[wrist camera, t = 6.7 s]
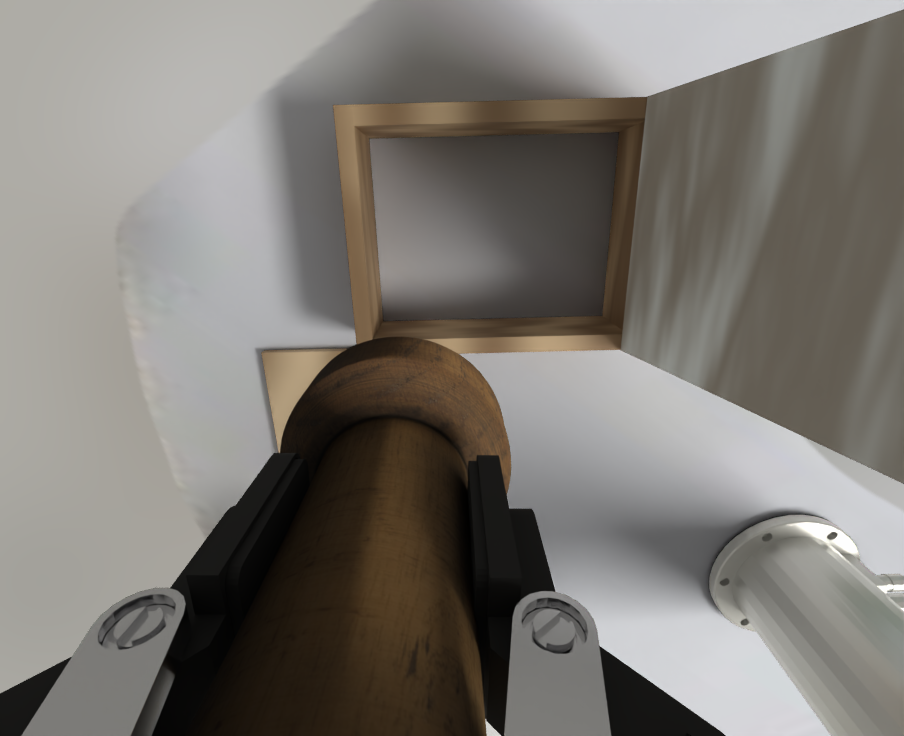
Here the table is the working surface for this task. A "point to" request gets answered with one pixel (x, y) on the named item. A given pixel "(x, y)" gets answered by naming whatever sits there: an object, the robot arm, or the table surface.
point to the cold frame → (716, 234)
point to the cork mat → (291, 379)
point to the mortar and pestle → (371, 559)
